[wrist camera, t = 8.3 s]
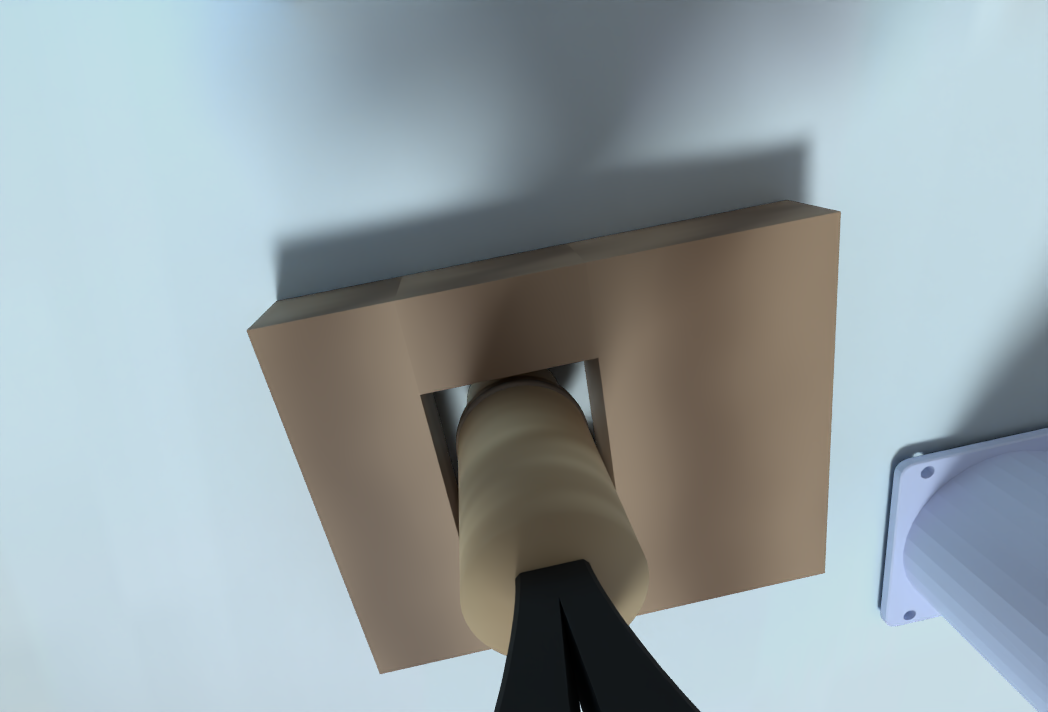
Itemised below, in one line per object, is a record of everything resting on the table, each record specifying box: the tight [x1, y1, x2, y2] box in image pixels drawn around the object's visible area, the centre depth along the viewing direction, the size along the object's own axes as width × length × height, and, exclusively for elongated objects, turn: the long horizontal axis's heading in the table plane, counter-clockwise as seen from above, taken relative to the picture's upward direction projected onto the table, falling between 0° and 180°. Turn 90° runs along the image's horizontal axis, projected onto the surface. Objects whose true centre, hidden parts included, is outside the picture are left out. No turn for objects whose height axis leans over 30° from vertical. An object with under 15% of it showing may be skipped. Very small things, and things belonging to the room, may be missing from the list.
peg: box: [456, 369, 649, 656], centre depth 14 cm, size 4×4×8 cm
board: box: [247, 200, 841, 674], centre depth 17 cm, size 15×12×2 cm
